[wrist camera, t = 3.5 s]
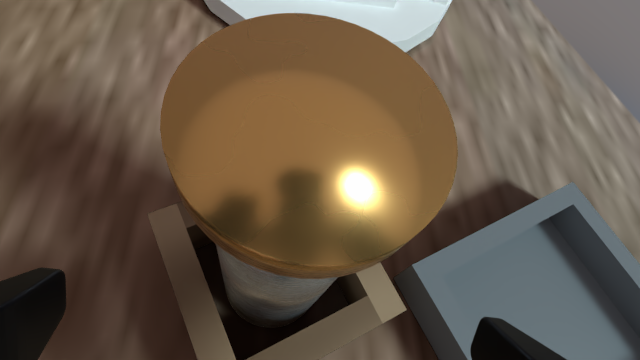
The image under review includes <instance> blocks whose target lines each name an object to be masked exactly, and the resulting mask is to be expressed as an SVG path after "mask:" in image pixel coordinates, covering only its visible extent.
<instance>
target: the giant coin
mask: <svg viewBox="0 0 640 360" xmlns="http://www.w3.org/2000/svg"><path fill="white" fill-rule="evenodd" d="M204 1H205V3H206V5H207V6H208V8H209V9H210V11H211V12H213V13H214V14H216V15H217V16H218V17H220V18H221V19H222V20H224V21H225V22H226V23H228V24H229V25H232V24H235V23H238V22H240V21H243V20H246V19H250V18H254V17H258V16H264V15H270V14H279V13H307V14H315V15H323V16H328V17H332V18H337V19H341V20H344V21H347V22H350V23H353V24H356V25H359V26H361V27H363V28H366V29H368V30H370V31H372V32H374V33H376V34H378V35H380V36H382V37H384V38H385V39H387V40H388V41H390V42H391V43H393V44H395V45H396V46H398V47H399V48H400V49H402V50H403V51H404V52H407V51H408V50H410V49H412V48H413V47H415V46H416V45H418V44H420V43H421V42H423V41H424V40H426V39H428V38H429V37H431V36H432V35H433V33H434V32H435V30H436V28H437V26H438V25H439V23H440V21H441V19H442V18H443V16H444V14H445V12H446V11H447V9H448V7H449V5H450V3H451V2H452V0H204Z"/></svg>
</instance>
